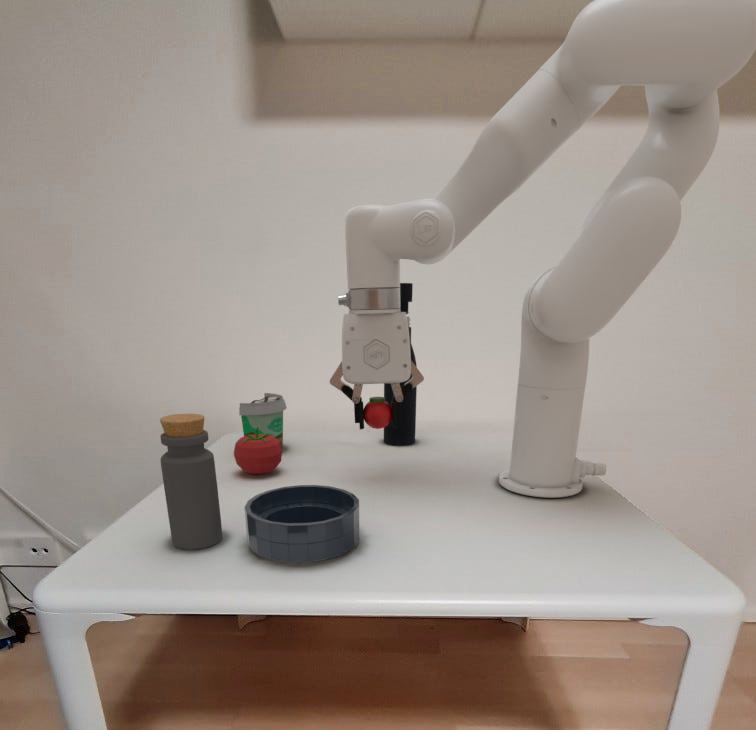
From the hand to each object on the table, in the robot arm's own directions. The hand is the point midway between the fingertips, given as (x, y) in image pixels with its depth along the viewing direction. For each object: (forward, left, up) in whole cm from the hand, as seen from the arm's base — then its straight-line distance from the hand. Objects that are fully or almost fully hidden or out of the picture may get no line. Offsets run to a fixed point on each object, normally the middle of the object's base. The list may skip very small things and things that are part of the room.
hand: (378, 425), depth 85 cm
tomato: (+20, -4, -9) cm, 22 cm away
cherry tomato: (0, 0, 0) cm, 0 cm away
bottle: (+23, +23, -9) cm, 33 cm away
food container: (+20, -18, -9) cm, 28 cm away
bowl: (+10, +24, -9) cm, 27 cm away
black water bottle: (-5, -24, -9) cm, 26 cm away
